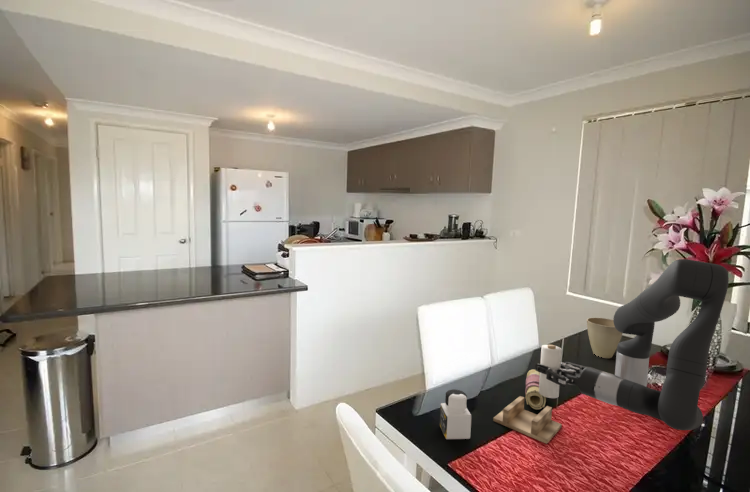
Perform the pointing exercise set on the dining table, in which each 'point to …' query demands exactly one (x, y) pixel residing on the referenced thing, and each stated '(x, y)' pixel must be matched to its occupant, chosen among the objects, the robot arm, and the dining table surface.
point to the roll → (551, 360)
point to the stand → (528, 421)
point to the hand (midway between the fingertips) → (541, 364)
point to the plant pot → (603, 336)
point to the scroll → (534, 390)
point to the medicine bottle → (455, 416)
